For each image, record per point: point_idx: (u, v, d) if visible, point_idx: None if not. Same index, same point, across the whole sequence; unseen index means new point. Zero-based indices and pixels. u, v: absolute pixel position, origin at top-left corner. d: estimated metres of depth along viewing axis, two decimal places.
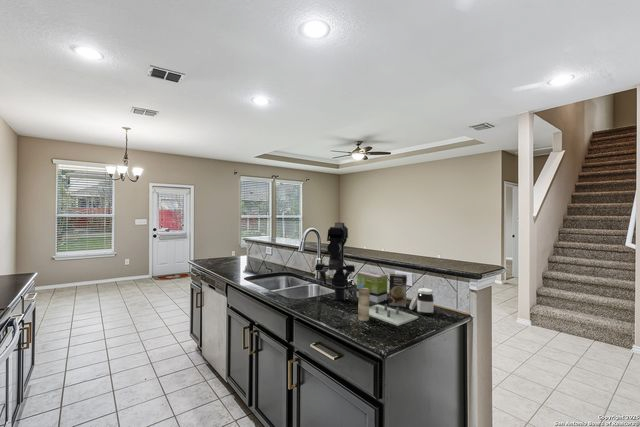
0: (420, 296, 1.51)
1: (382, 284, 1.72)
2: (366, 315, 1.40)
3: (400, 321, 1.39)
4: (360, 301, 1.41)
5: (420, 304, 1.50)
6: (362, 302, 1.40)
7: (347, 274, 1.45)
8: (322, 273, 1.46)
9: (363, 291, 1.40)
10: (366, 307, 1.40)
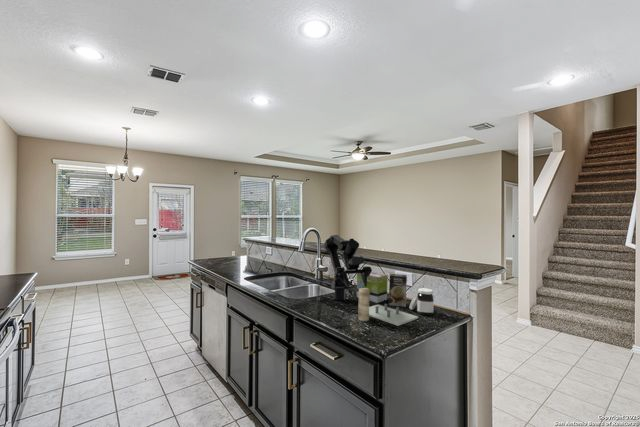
0: (420, 296, 1.51)
1: (382, 284, 1.72)
2: (366, 315, 1.40)
3: (400, 321, 1.39)
4: (360, 301, 1.41)
5: (420, 304, 1.50)
6: (362, 302, 1.40)
7: (366, 273, 1.54)
8: (344, 274, 1.51)
9: (363, 291, 1.40)
10: (366, 307, 1.40)
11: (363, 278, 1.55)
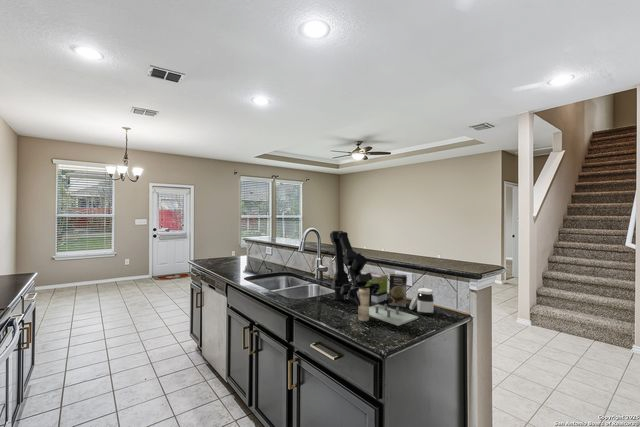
0: (420, 296, 1.51)
1: (382, 284, 1.72)
2: (366, 315, 1.40)
3: (400, 321, 1.39)
4: (360, 301, 1.41)
5: (420, 304, 1.50)
6: (362, 302, 1.40)
7: (371, 290, 1.45)
8: (355, 292, 1.43)
9: (363, 291, 1.40)
10: (366, 307, 1.40)
11: None
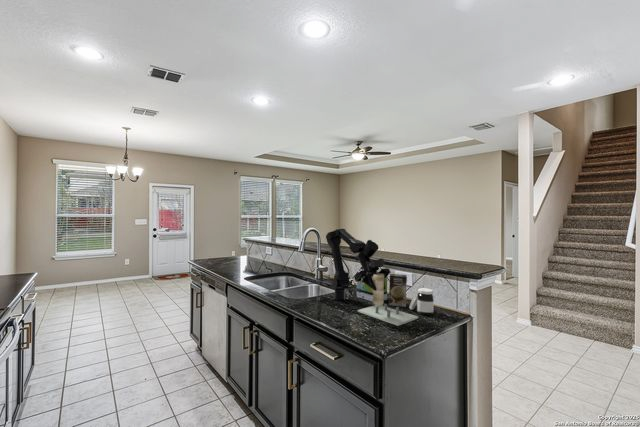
0: (420, 296, 1.51)
1: None
2: (382, 299, 1.44)
3: (400, 321, 1.39)
4: (376, 286, 1.44)
5: (420, 304, 1.50)
6: (378, 286, 1.43)
7: None
8: (370, 277, 1.45)
9: (379, 276, 1.43)
10: (382, 291, 1.44)
11: None
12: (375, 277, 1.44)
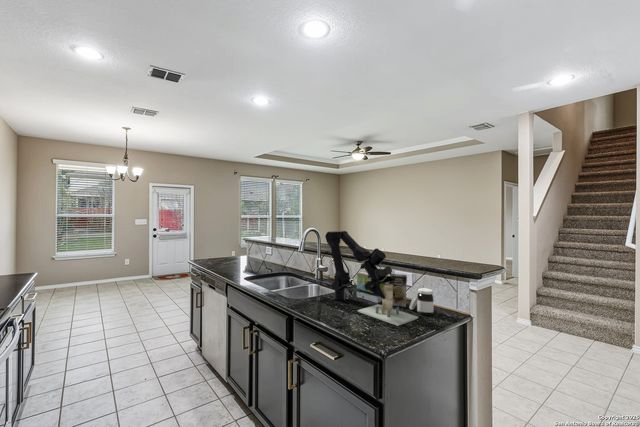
0: (420, 296, 1.51)
1: (382, 284, 1.72)
2: (391, 309, 1.48)
3: (400, 321, 1.39)
4: (386, 296, 1.47)
5: (420, 304, 1.50)
6: (388, 296, 1.47)
7: (392, 282, 1.54)
8: (378, 286, 1.47)
9: (389, 286, 1.47)
10: (391, 301, 1.48)
11: None
12: (385, 287, 1.47)
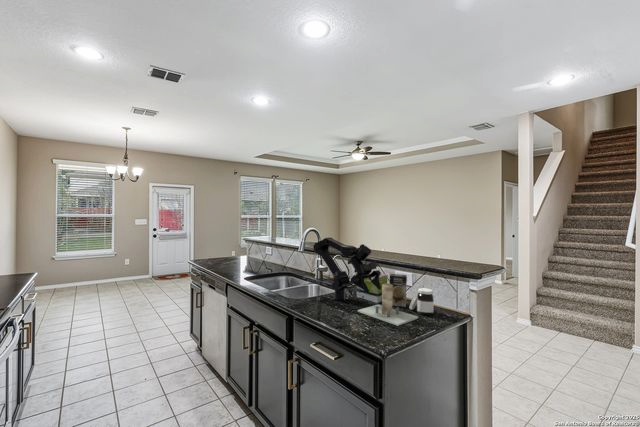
0: (420, 296, 1.51)
1: None
2: (391, 309, 1.48)
3: (400, 321, 1.39)
4: (386, 296, 1.47)
5: (420, 304, 1.50)
6: (388, 296, 1.47)
7: (378, 277, 1.62)
8: (363, 280, 1.54)
9: (389, 286, 1.47)
10: (391, 301, 1.48)
11: (375, 282, 1.62)
12: (385, 288, 1.47)
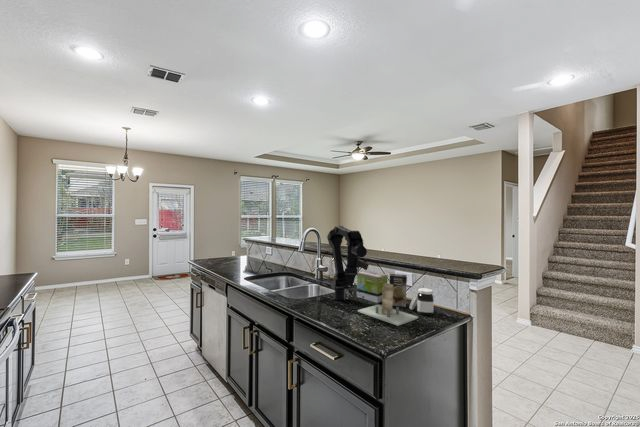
0: (420, 296, 1.51)
1: (382, 284, 1.72)
2: (391, 309, 1.48)
3: (400, 321, 1.39)
4: (386, 296, 1.47)
5: (420, 304, 1.50)
6: (388, 296, 1.47)
7: None
8: (355, 275, 1.54)
9: (389, 286, 1.47)
10: (391, 301, 1.48)
11: None
12: (385, 287, 1.48)
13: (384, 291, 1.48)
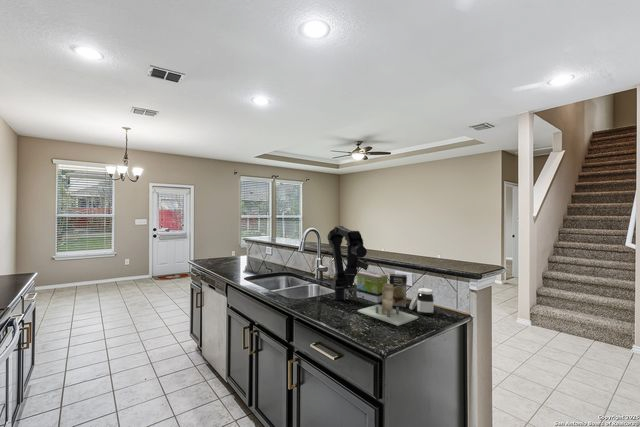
0: (420, 296, 1.51)
1: (382, 284, 1.72)
2: (391, 309, 1.48)
3: (400, 321, 1.39)
4: (386, 296, 1.47)
5: (420, 304, 1.50)
6: (388, 296, 1.47)
7: None
8: None
9: (389, 286, 1.47)
10: (391, 301, 1.48)
11: None
12: (385, 288, 1.47)
13: (384, 291, 1.48)
